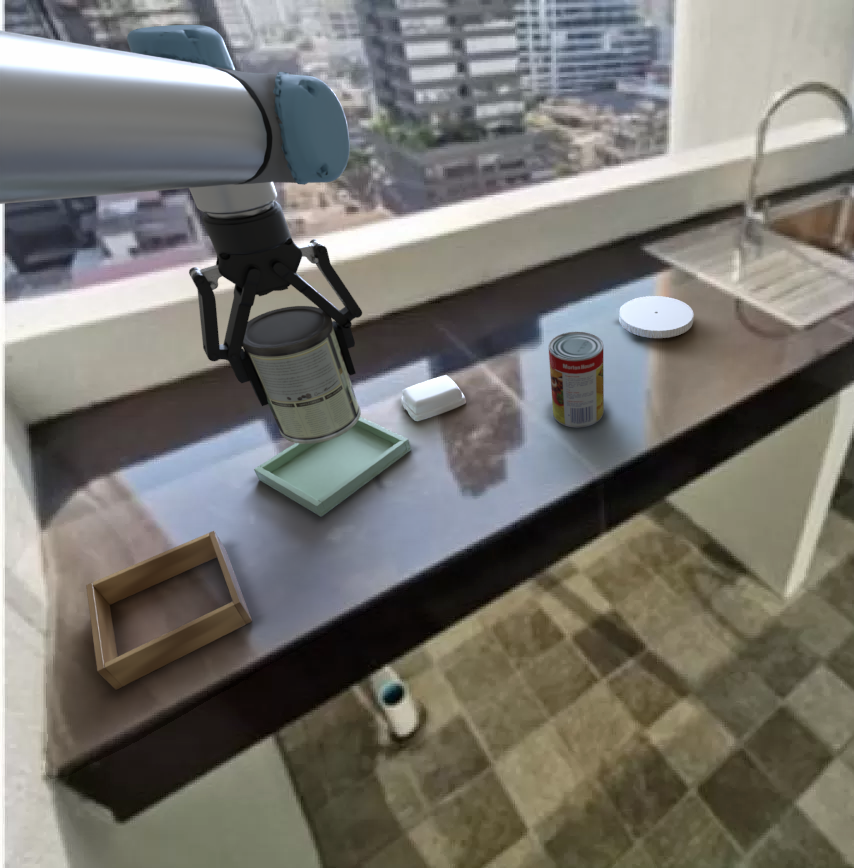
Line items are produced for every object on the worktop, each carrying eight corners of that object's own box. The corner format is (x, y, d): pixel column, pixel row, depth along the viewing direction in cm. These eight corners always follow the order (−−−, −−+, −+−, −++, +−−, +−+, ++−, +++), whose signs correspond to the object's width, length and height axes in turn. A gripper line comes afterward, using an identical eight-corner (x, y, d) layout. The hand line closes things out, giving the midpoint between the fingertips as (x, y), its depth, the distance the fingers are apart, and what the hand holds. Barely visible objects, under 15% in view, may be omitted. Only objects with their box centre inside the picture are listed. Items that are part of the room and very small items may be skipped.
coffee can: (262, 425, 79) (219, 330, 70) (330, 389, 85) (298, 297, 77) (309, 455, 74) (268, 357, 65) (377, 414, 81) (349, 320, 72)
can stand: (116, 690, 59) (96, 671, 57) (102, 604, 67) (85, 584, 65) (252, 621, 65) (240, 602, 63) (225, 549, 73) (214, 530, 71)
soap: (414, 423, 92) (411, 408, 90) (399, 401, 96) (395, 386, 94) (469, 403, 96) (466, 388, 94) (451, 383, 100) (448, 368, 98)
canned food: (594, 393, 98) (593, 327, 90) (610, 421, 92) (610, 353, 84) (547, 402, 96) (542, 336, 88) (560, 432, 90) (556, 363, 82)
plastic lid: (611, 338, 111) (612, 326, 110) (627, 304, 122) (627, 292, 120) (687, 347, 109) (688, 334, 107) (696, 311, 119) (697, 299, 118)
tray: (321, 517, 77) (316, 506, 76) (258, 480, 82) (253, 469, 81) (411, 449, 87) (408, 439, 86) (350, 420, 93) (347, 410, 91)
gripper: (336, 177, 70) (381, 343, 84) (107, 220, 59) (202, 403, 73) (360, 193, 65) (404, 366, 79) (116, 243, 55) (216, 434, 69)
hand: (307, 384), depth 76 cm, fingers closed on coffee can, 10 cm apart
